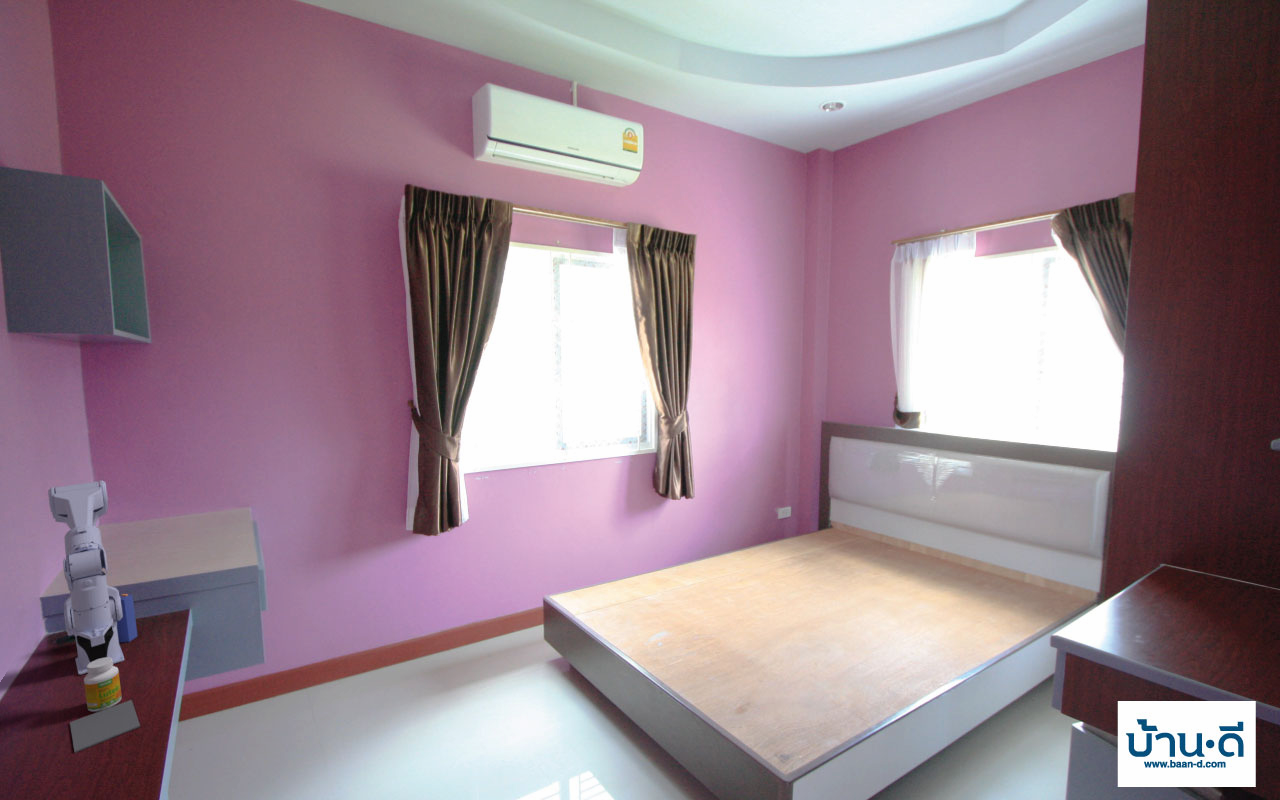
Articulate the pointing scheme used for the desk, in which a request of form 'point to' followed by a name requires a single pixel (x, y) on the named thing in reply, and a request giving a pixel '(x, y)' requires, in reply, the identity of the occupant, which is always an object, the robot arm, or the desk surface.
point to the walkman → (127, 620)
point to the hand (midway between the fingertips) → (98, 663)
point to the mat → (103, 725)
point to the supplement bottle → (102, 685)
